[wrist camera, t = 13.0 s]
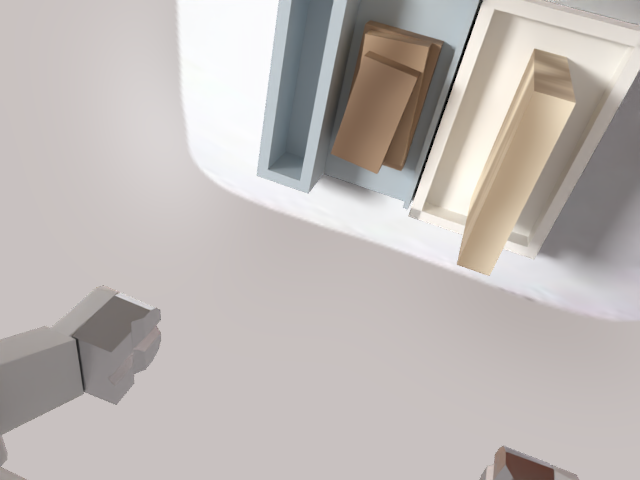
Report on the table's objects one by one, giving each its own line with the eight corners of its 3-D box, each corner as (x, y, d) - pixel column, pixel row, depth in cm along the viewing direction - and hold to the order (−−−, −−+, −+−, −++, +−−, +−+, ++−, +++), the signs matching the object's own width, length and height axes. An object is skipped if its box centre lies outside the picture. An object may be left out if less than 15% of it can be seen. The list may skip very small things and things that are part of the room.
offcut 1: (421, 72, 32) (417, 77, 31) (381, 166, 36) (377, 174, 35) (369, 50, 33) (363, 55, 31) (336, 146, 37) (330, 153, 36)
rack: (482, -7, 32) (476, 5, 28) (412, 197, 41) (401, 225, 37) (302, -54, 34) (275, -49, 30) (273, 150, 43) (249, 173, 39)
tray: (651, 28, 30) (658, 36, 28) (534, 244, 40) (534, 259, 38) (488, -14, 32) (486, -10, 30) (413, 203, 41) (408, 216, 40)
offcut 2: (444, 41, 33) (441, 45, 32) (404, 164, 39) (401, 171, 38) (370, 20, 34) (365, 23, 33) (341, 143, 39) (336, 150, 38)
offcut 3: (432, 42, 32) (428, 47, 31) (405, 158, 37) (401, 165, 36) (370, 29, 33) (365, 33, 32) (351, 144, 38) (346, 151, 37)
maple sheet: (566, 57, 32) (576, 103, 25) (497, 205, 38) (489, 276, 31) (534, 48, 32) (534, 90, 25) (471, 197, 39) (456, 264, 32)
